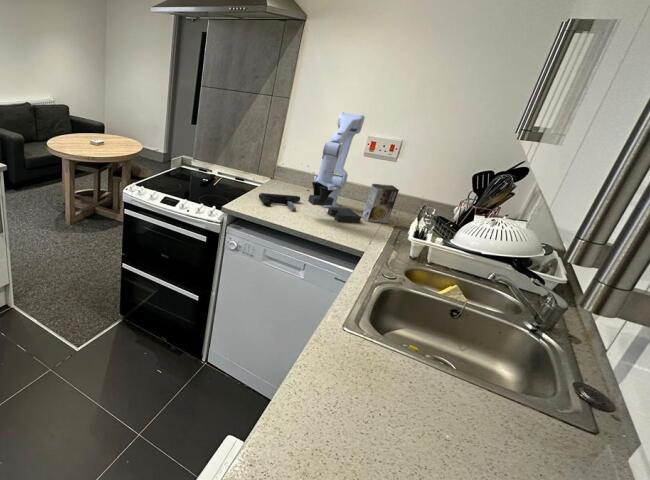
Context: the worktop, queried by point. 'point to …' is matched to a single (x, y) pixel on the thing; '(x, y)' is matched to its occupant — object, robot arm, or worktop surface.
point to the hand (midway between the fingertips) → (318, 200)
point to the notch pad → (344, 215)
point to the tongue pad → (318, 200)
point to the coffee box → (380, 203)
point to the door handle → (279, 199)
